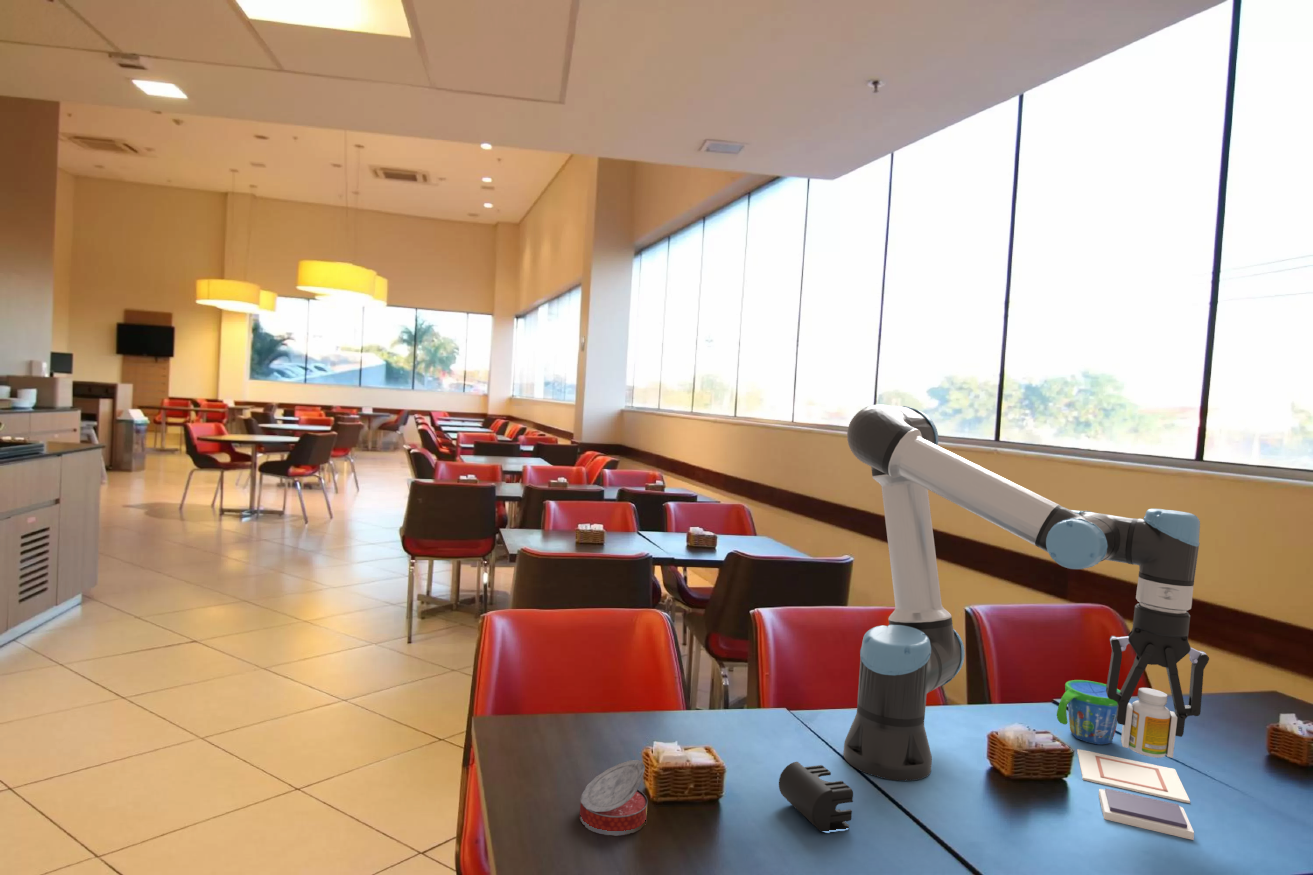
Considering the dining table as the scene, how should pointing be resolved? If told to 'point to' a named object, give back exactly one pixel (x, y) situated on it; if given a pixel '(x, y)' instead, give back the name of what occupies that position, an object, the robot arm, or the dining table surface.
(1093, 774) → the cream flat board
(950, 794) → the dining table surface
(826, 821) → the end cap
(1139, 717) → the supplement bottle
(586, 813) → the canned food
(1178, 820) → the ink pad
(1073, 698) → the snack cup
